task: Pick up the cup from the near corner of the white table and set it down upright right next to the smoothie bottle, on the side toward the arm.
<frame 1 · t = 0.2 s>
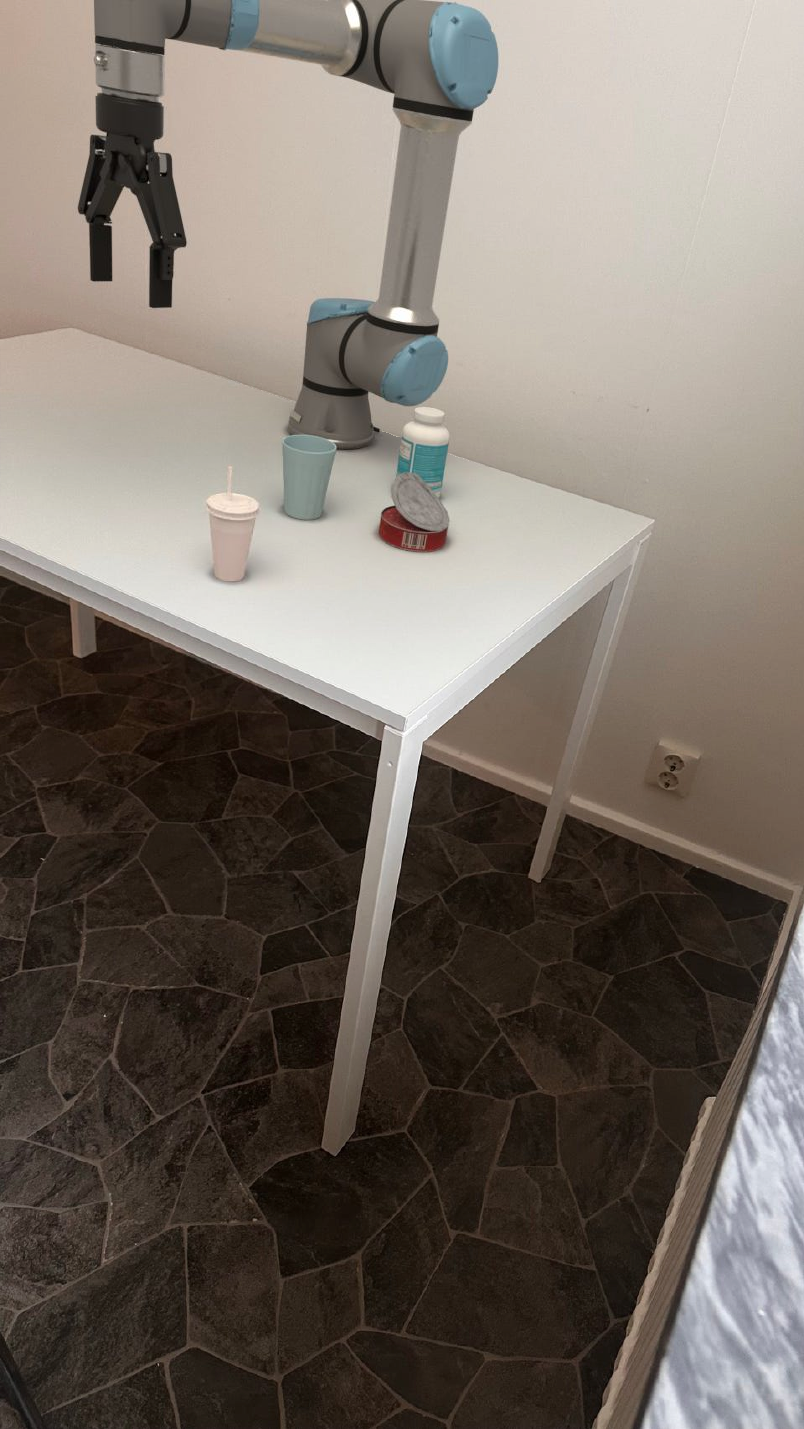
hand: (130, 294, 124), 28 cm above the table, tool pointing down, fingers open, 13 cm apart
pill bottle: (416, 496, 158), on the table
canned food: (412, 538, 143), on the table
cup: (302, 514, 145), on the table
smoothie: (229, 576, 125), on the table
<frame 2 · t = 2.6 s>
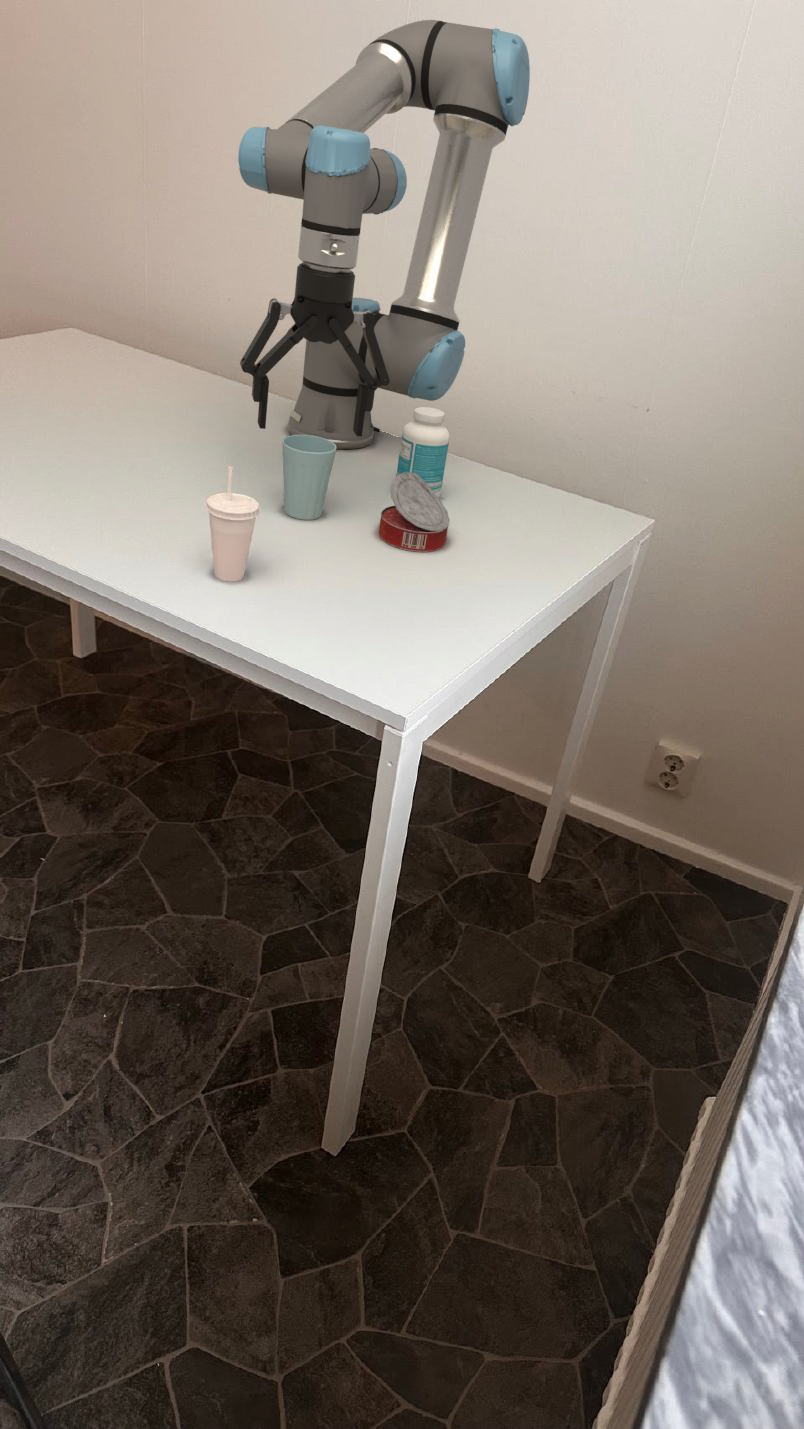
hand: (310, 429, 138), 12 cm above the table, tool pointing down, fingers open, 13 cm apart
nothing on the table moved.
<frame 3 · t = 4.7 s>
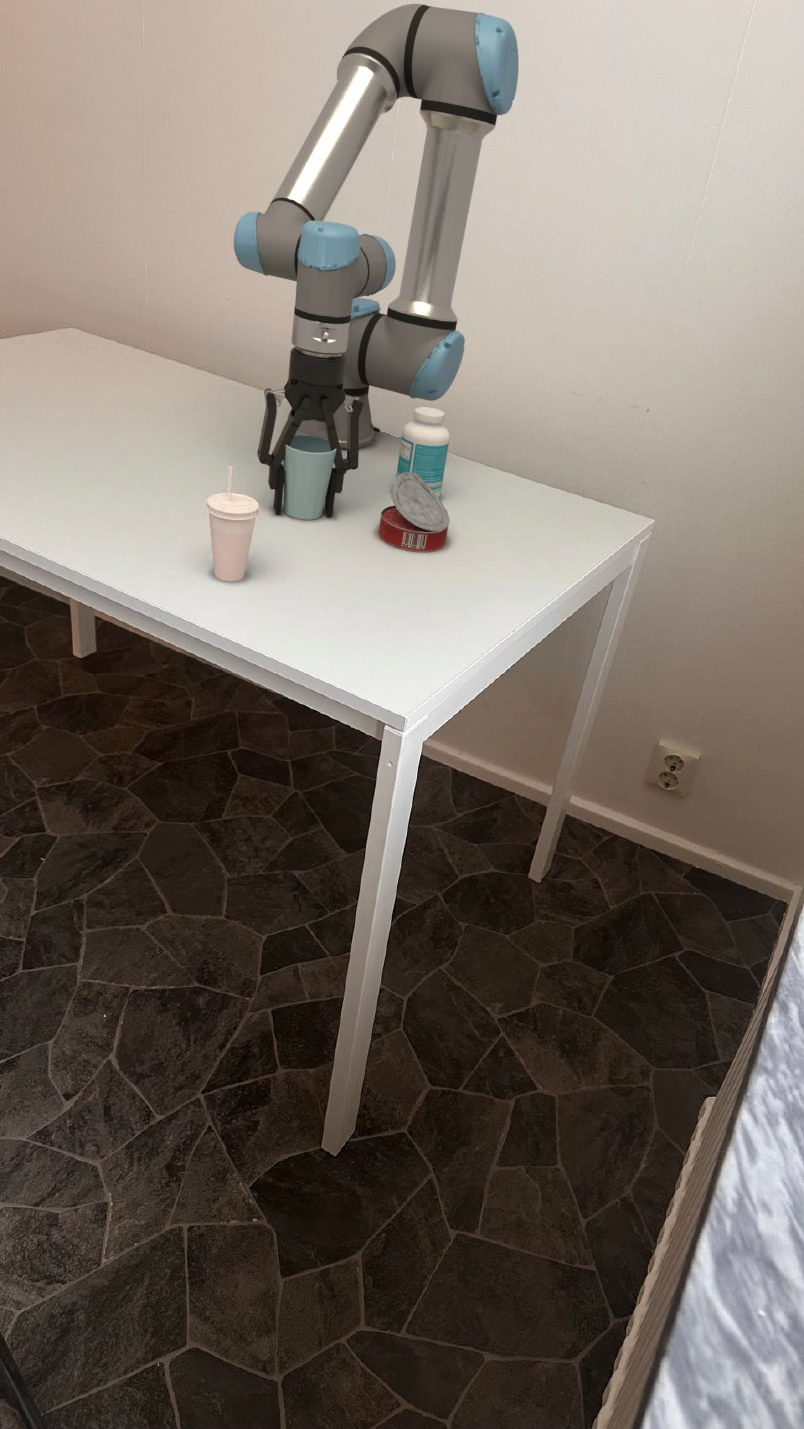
hand: (302, 511, 145), 0 cm above the table, tool pointing down, fingers closed on cup, 7 cm apart
cup: (302, 514, 145), on the table, touching gripper
everything else where it was.
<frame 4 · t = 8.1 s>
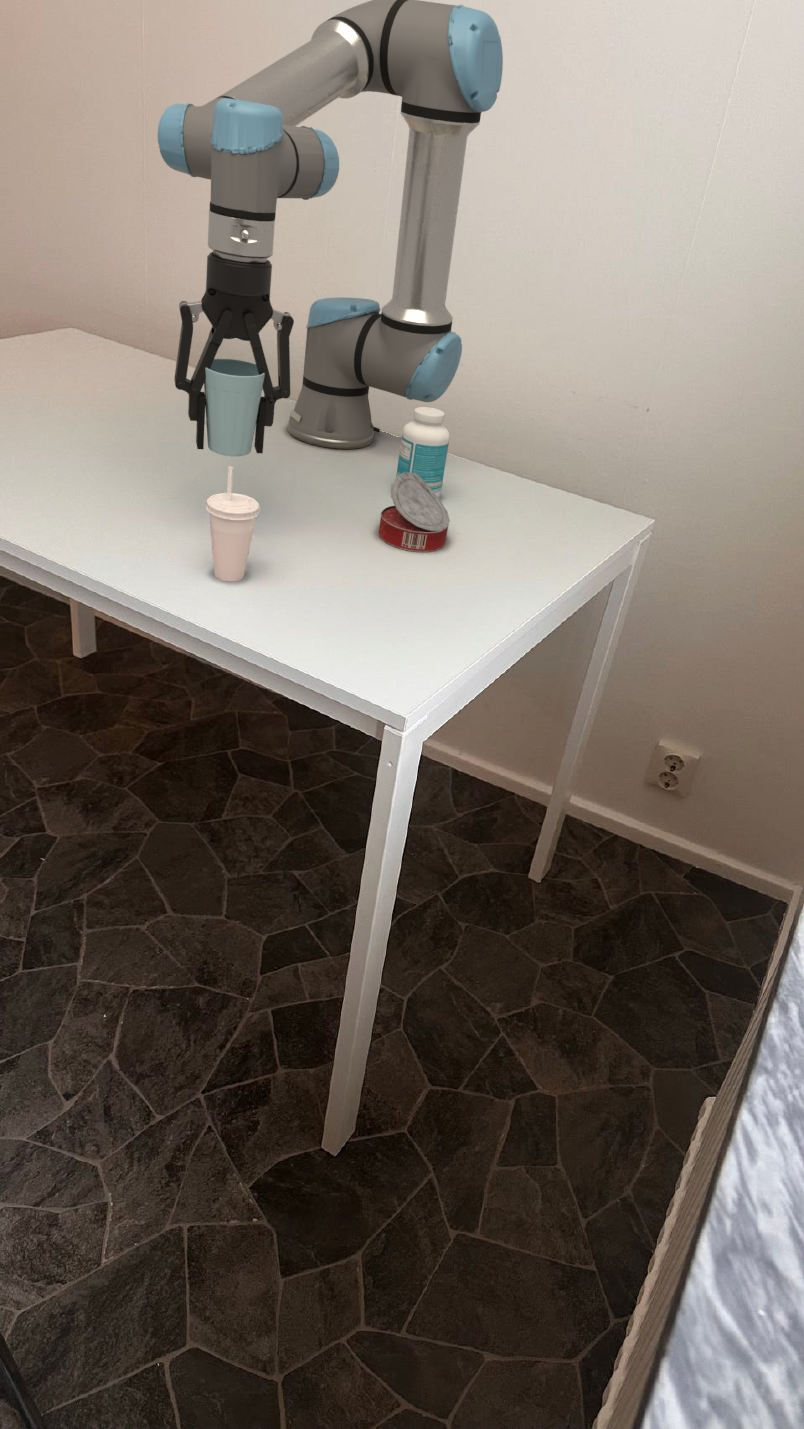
hand: (229, 447, 128), 12 cm above the table, tool pointing down, fingers closed on cup, 7 cm apart
cup: (229, 450, 128), point 12 cm above the table, touching gripper
everything else where it was.
when the fingers open (0 cm above the table, at t = 11.2 s): cup stays where it is, on the table.
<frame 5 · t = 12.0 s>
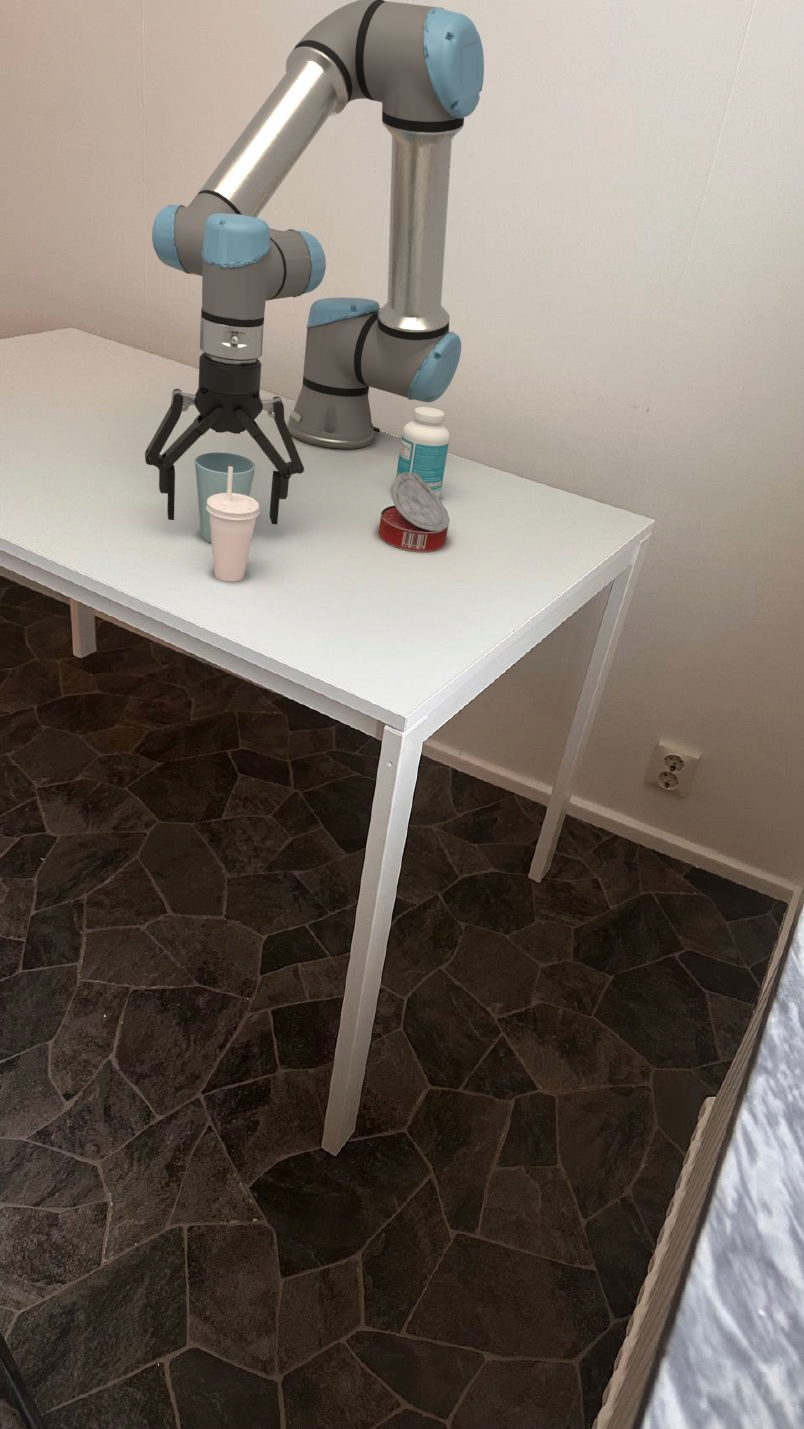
hand: (222, 518, 132), 3 cm above the table, tool pointing down, fingers open, 13 cm apart
cup: (221, 538, 134), on the table
everything else where it was.
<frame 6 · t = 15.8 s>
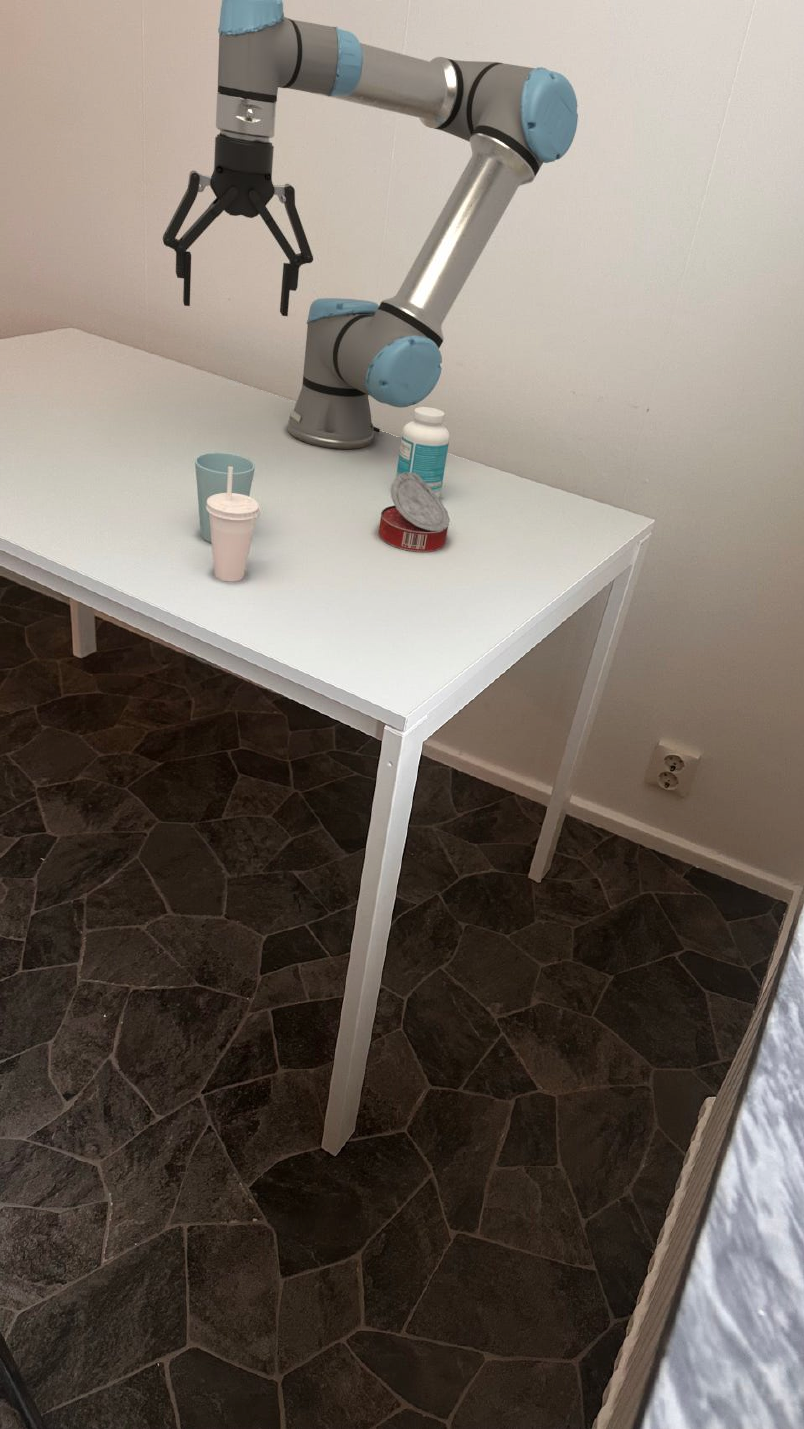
hand: (235, 309, 139), 25 cm above the table, tool pointing down, fingers open, 13 cm apart
nothing on the table moved.
at the end: cup 11.7 cm from the smoothie (horizontally); cup tilted 0°; smoothie moved 0.2 cm from its start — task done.
